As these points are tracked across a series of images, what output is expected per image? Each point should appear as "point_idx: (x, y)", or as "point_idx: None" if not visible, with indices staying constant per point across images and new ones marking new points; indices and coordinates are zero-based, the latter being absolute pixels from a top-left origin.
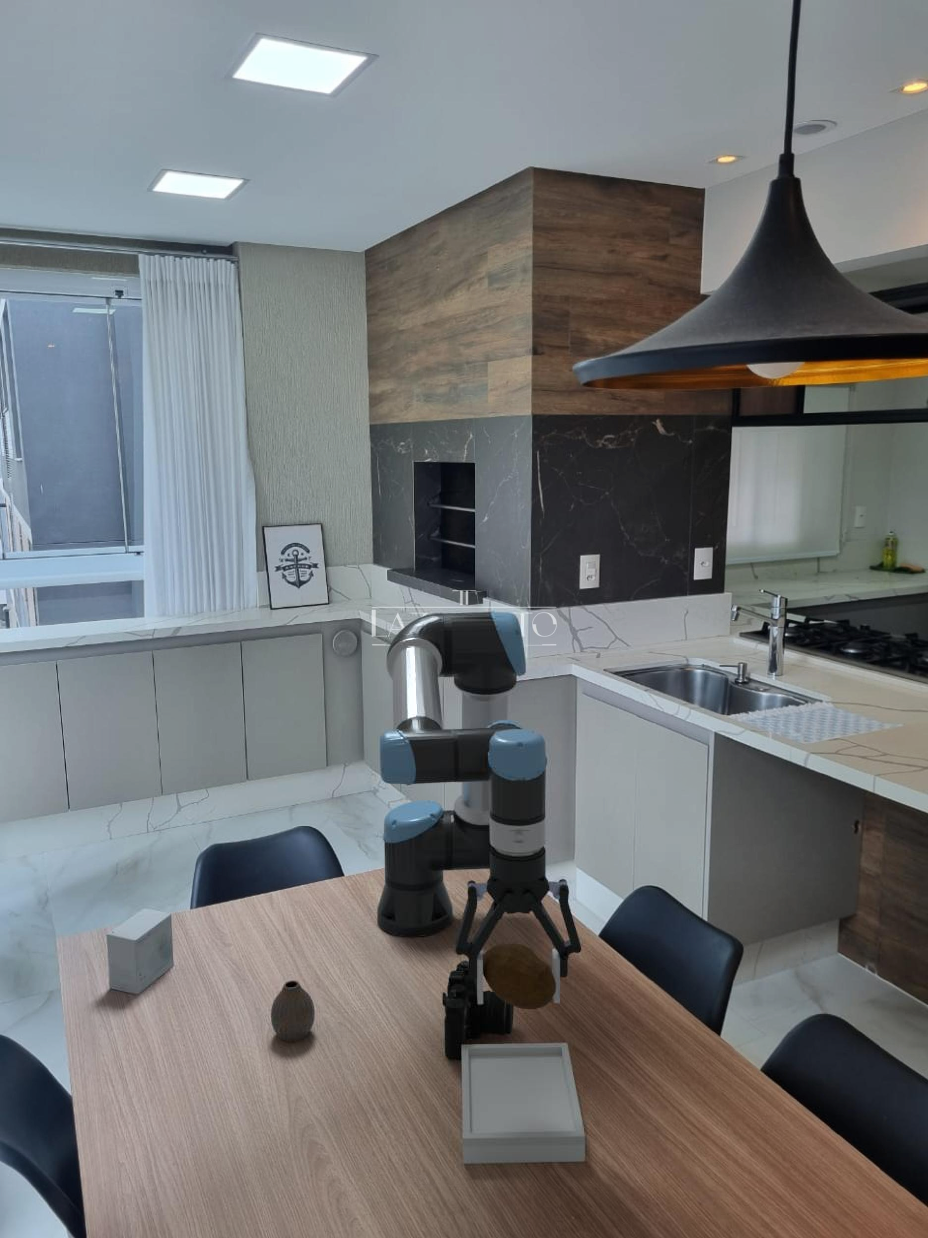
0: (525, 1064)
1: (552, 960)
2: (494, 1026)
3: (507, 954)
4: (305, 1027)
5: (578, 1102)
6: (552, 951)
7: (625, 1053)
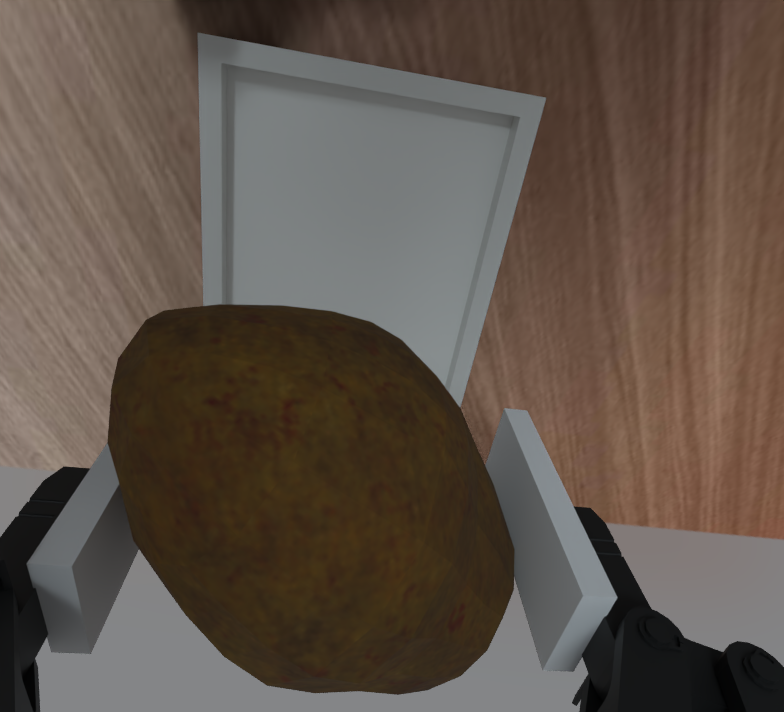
0: (397, 144)
1: (554, 537)
2: None
3: (256, 672)
4: None
5: (477, 345)
6: (576, 587)
7: (705, 69)
